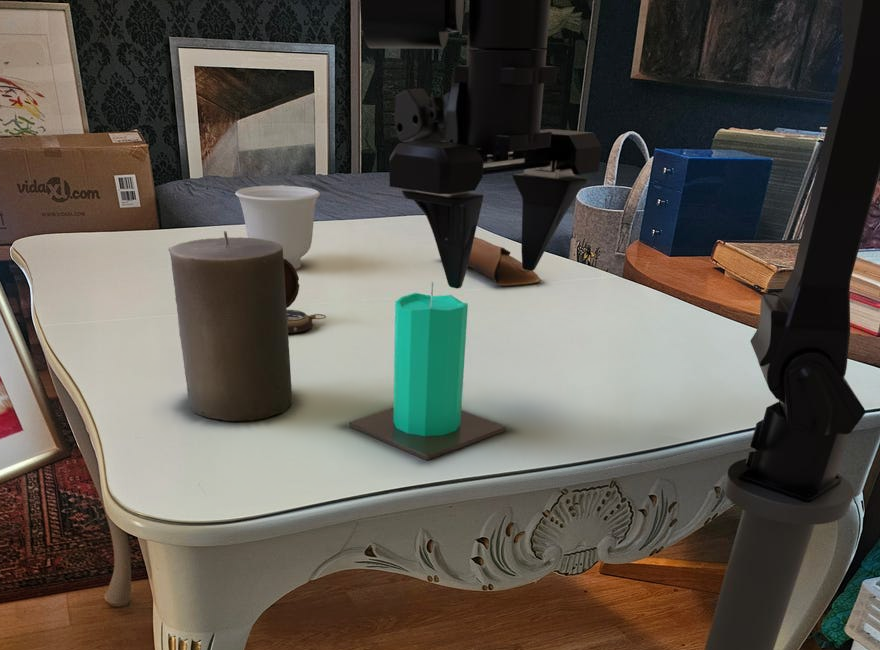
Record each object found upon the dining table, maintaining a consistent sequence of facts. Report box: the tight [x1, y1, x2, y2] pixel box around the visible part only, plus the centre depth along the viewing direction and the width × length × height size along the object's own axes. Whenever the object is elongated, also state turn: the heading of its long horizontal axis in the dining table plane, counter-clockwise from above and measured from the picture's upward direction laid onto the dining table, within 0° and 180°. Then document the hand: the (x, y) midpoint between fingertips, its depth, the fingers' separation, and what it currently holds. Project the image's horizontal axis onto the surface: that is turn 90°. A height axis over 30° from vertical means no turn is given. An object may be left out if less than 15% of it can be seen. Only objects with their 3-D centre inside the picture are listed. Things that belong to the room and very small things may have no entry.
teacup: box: [234, 184, 321, 270], centre depth 127 cm, size 12×15×10 cm
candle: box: [393, 281, 469, 436], centre depth 74 cm, size 6×6×12 cm
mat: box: [348, 407, 507, 461], centre depth 77 cm, size 10×10×1 cm
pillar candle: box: [167, 230, 293, 422], centre depth 77 cm, size 10×10×15 cm
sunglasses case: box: [467, 236, 542, 287], centre depth 128 cm, size 18×7×7 cm
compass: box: [283, 258, 327, 334], centre depth 101 cm, size 8×8×7 cm
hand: (493, 278), depth 71 cm, fingers open, 9 cm apart
